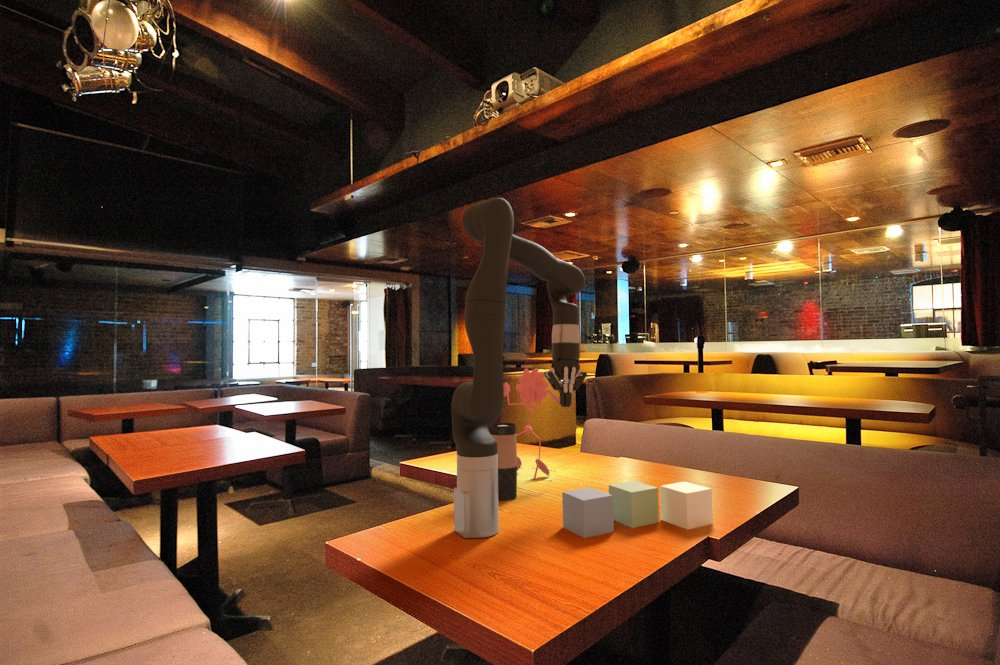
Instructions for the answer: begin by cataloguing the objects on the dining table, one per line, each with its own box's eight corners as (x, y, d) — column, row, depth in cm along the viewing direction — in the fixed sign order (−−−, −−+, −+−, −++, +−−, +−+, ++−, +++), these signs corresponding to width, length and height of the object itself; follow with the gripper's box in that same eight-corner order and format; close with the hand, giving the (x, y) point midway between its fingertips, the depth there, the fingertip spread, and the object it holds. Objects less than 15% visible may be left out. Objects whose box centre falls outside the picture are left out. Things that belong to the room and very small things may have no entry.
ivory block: (687, 530, 114) (686, 493, 114) (661, 520, 121) (660, 485, 121) (712, 524, 118) (711, 488, 118) (685, 514, 125) (684, 481, 125)
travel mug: (521, 498, 140) (520, 425, 141) (495, 502, 137) (494, 427, 138) (511, 492, 147) (509, 422, 148) (486, 495, 145) (485, 423, 145)
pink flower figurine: (555, 483, 156) (554, 368, 159) (489, 473, 172) (489, 368, 174) (580, 475, 168) (578, 368, 171) (516, 466, 184) (516, 368, 186)
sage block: (632, 528, 115) (631, 492, 116) (609, 518, 123) (608, 484, 123) (658, 522, 119) (657, 487, 120) (635, 513, 126) (634, 480, 127)
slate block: (584, 538, 110) (583, 500, 110) (563, 527, 117) (562, 492, 117) (613, 532, 113) (612, 495, 114) (591, 522, 120) (590, 487, 121)
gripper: (553, 340, 132) (552, 408, 130) (594, 342, 138) (594, 407, 137) (537, 341, 139) (537, 406, 137) (577, 344, 145) (577, 406, 143)
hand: (565, 406), depth 137 cm, fingers closed
